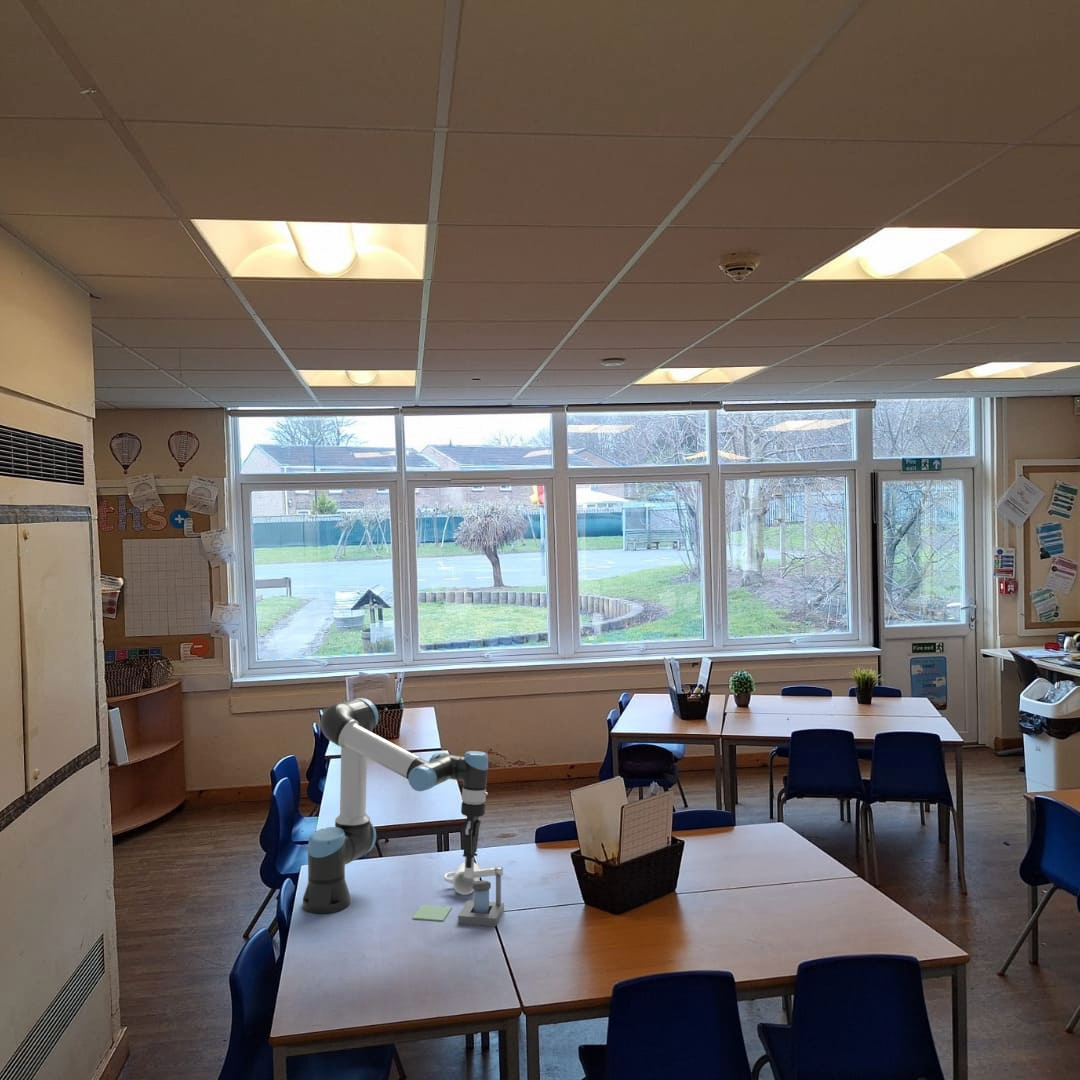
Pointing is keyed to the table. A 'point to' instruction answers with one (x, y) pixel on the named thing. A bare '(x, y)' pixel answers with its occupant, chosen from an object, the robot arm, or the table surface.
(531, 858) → the table surface
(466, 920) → the socket
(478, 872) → the lever
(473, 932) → the table surface
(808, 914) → the table surface
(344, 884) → the robot arm
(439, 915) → the mat
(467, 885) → the mug
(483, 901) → the plug
